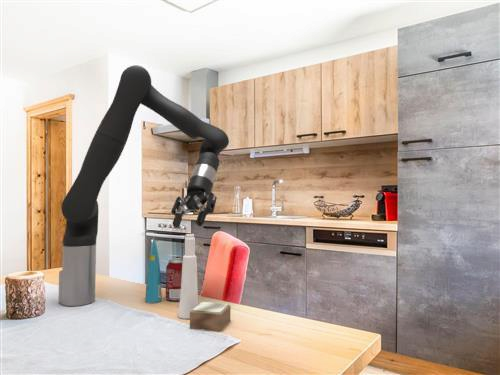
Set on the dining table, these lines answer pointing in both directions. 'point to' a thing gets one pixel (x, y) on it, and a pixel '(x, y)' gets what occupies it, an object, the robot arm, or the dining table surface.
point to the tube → (153, 277)
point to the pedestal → (210, 316)
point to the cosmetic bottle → (188, 279)
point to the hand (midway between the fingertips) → (186, 225)
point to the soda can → (174, 279)
